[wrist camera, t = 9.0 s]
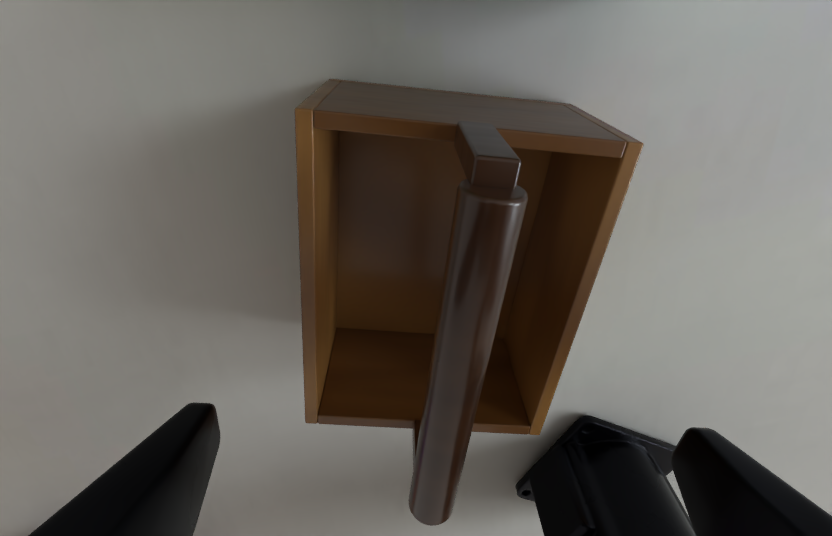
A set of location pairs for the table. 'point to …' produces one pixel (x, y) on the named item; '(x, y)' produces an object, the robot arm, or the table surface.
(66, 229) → the table surface
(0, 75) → the table surface
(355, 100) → the wooden basket with handle
